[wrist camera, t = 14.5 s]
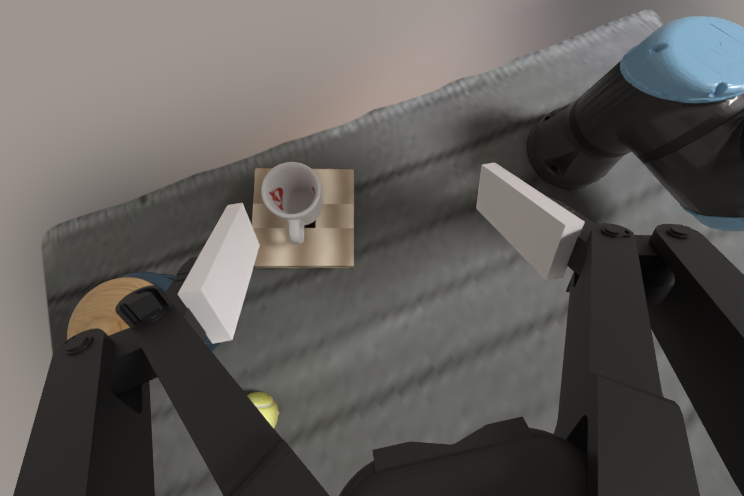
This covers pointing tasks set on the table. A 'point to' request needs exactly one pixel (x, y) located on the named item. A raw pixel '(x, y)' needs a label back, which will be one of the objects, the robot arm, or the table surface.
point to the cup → (293, 196)
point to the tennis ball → (265, 406)
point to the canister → (114, 304)
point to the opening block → (309, 227)
